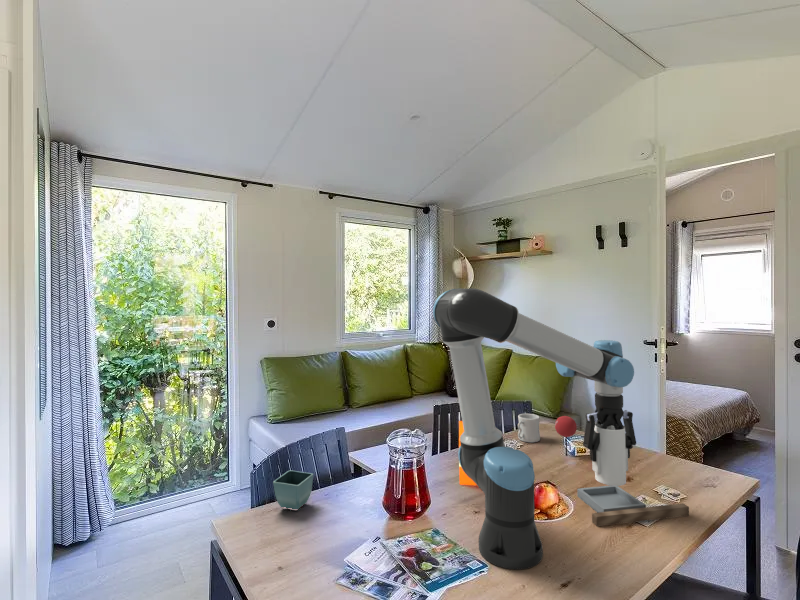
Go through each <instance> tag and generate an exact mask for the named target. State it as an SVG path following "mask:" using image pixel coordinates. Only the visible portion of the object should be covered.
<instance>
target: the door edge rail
mask: <svg viewBox="0 0 800 600" xmlns="http://www.w3.org/2000/svg"><path fill="white" fill-rule="evenodd" d="M688 516H690V507H689V506H688V505H687V504H684V503H674V504H664V505H656V506H648V507H647V506H646V507H645V508H636V509H626V510H617V511H608V512H599V513H597V512H592V513H591V523H592V524H594V525H595V526H596V527H601V526H608V525H609V526H611V525H618V524H627V523H636V522H646V521H645V520H647V521H655V520H662V519H671V518H680V517H681V518H682V517H688Z"/></svg>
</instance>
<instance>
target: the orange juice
mask: <svg viewBox="0 0 800 600" xmlns="http://www.w3.org/2000/svg"><path fill="white" fill-rule="evenodd" d="M463 432H464V428H463V422H462V420H458V448H459V447H460V446H461V443H460V436H461V435H462V433H463ZM458 466H459V467H458V468H459V469H458V471H459V475H458V476H459V485H460V486H462V485H463V486H477V484H476V483H475V482H474V481H473V480H472V479H471V478H469V477H468V476H467V475H466V474H465V472H464V471H463V469H462V467H461V465H460V463H459V462H458Z"/></svg>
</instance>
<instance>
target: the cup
mask: <svg viewBox="0 0 800 600" xmlns="http://www.w3.org/2000/svg"><path fill="white" fill-rule="evenodd" d="M601 425H603V424H601ZM594 431H595V432H596V433H600V444H599V446H598V449H597V450H599V451H600V474H598V473H596V472H595V471H594V475H595V476H594V479H595V480H596V481H597V482H598V483H600V484H603V485H605V486H610V485H611V486H618V487H620V486H621V487H622V486H625V485H626V484H627V471H626V446H625V433H626V432H625V426H624V425H623V429H621V430H615V428H614V426H613V425H611V426H607V429H602V428H599V427H597V426H596V422H595V428H594Z"/></svg>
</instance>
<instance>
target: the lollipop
mask: <svg viewBox="0 0 800 600" xmlns="http://www.w3.org/2000/svg"><path fill="white" fill-rule="evenodd" d="M554 428H555V431H556V432H557V434H558V435H560V436H561V437H563V438H565V439H564V440H565V456H568V439H567V438H571V437H573V436H574V435H575V434H576V432H577V428H578V426H577V423H576V421H575V420H574V418H573V417H571V416H568V415H562V416H559V417H557V418H556V420H555V423H554Z"/></svg>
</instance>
